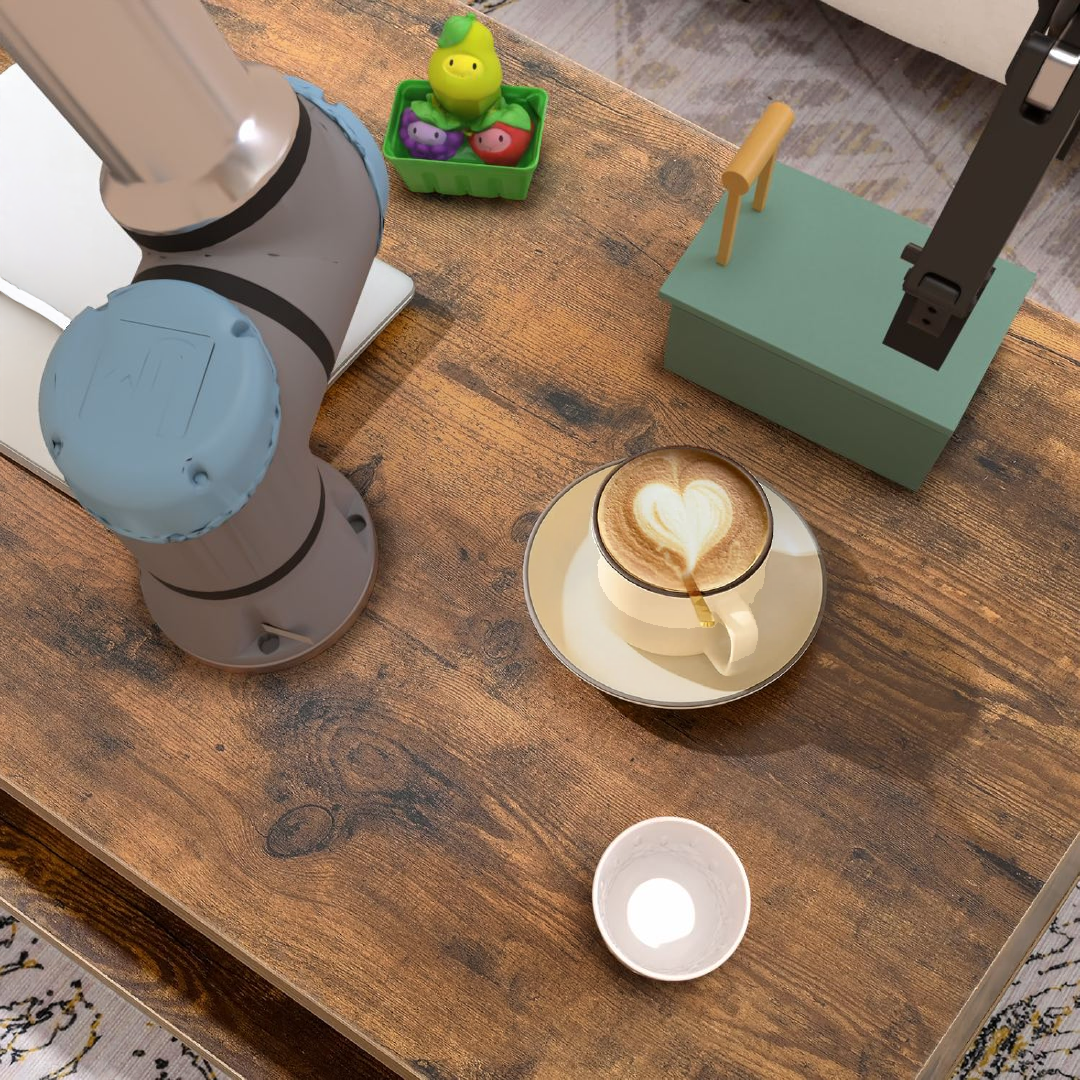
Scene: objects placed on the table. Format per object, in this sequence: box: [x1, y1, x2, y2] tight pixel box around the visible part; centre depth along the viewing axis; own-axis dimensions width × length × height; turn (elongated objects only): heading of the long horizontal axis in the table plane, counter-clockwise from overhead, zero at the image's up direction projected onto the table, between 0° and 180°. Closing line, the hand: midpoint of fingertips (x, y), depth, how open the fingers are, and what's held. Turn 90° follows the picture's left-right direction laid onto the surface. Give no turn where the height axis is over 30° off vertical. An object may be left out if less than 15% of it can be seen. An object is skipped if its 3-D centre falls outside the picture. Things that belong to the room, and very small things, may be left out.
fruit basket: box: [381, 12, 549, 201], centre depth 84 cm, size 11×9×11 cm
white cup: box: [591, 816, 752, 982], centre depth 62 cm, size 8×8×10 cm
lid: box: [657, 101, 1038, 438], centre depth 70 cm, size 20×13×10 cm, turn 59°
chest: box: [663, 304, 951, 493], centre depth 78 cm, size 19×13×8 cm
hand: (978, 244), depth 53 cm, fingers open, 13 cm apart
